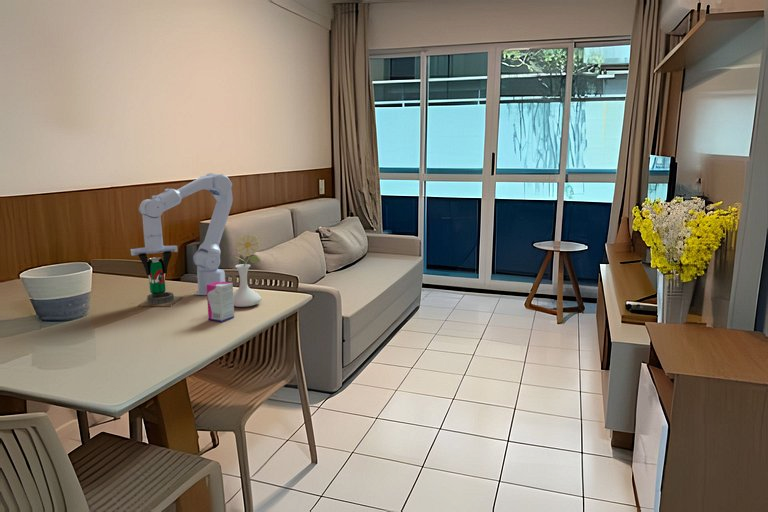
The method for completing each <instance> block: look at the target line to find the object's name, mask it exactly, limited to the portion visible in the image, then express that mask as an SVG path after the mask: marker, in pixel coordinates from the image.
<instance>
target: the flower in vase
mask: <svg viewBox="0 0 768 512" xmlns="http://www.w3.org/2000/svg"><path fill="white" fill-rule="evenodd" d="M234 247H235V249H236V251H237V253H238V254H239V255H240V256H244V257H248V258H247V260H244V259H242V258H241V257H238V256H236V258H237V259H239V260H241V261H243V262H244V263H242V264H241V263H240V264H239V263H238V264H236V265H234V266H235V268H236V270H237V271H238V274H239V282H240V283H239V287H238V289H236V290H235V291H233V303H234V307H237V308H239V307H240V308H241V307H242V308H245V307H252V306H255V305H257V304H259V303H260V302H261V301H262V297H261V296H260V294H259V293H257V292H256V291H254V290H252V289H251V288H250V286H248V272H249V269H250V267H251V264H247V263H248V261H250V263H252V264H256V263H260V262H261V259H260V258H259V257H258V256H257V255H255V254H256V253H257V252H258V250H259V249H260V247H261V242H260V240H259V237H257V235H254V234H251V233H246V234H243V235H242V236H239V237H238V239H237V240H236V243H235V246H234Z"/></svg>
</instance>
